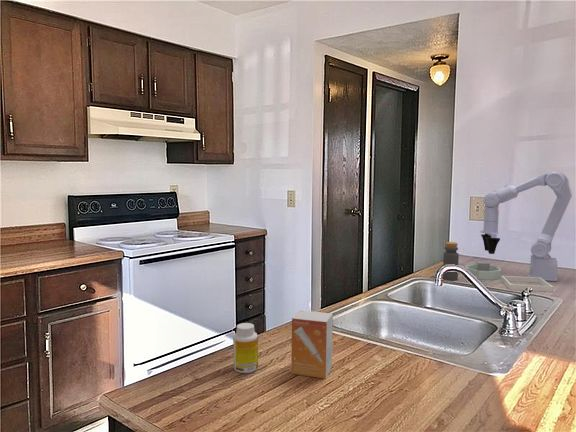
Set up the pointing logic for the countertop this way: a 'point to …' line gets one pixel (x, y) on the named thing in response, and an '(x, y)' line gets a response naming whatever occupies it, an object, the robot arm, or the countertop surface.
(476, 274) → the bowl
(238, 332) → the supplement bottle
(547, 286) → the tray
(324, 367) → the small box
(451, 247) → the bottle
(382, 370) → the countertop surface
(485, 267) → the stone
